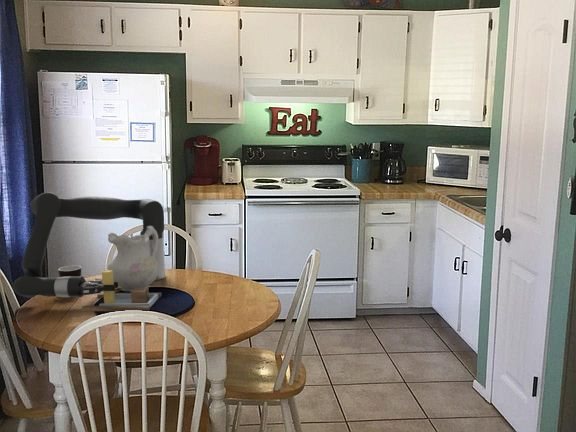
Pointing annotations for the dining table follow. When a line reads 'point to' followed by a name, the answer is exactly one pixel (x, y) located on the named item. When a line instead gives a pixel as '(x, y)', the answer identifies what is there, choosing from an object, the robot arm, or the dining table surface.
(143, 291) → the block
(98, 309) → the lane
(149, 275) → the ceramic pitcher
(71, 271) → the coffee mug
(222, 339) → the dining table surface
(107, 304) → the shallow grey tray
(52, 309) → the dining table surface
